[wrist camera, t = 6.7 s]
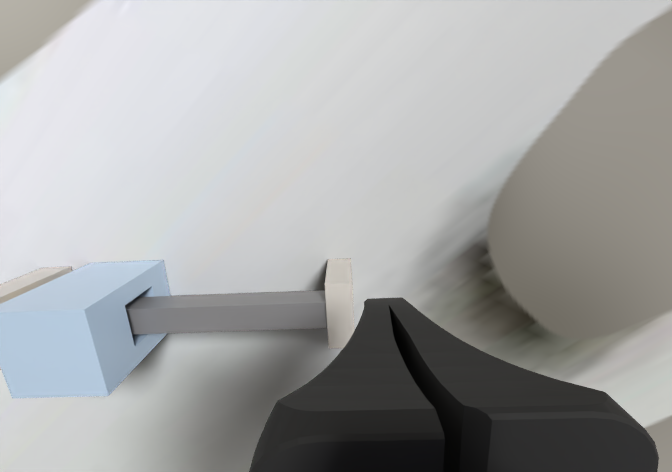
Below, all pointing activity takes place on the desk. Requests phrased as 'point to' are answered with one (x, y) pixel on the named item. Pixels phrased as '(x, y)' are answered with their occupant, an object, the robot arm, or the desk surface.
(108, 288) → the light blue sliding block
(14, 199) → the desk surface
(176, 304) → the grey bar rail
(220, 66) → the desk surface
